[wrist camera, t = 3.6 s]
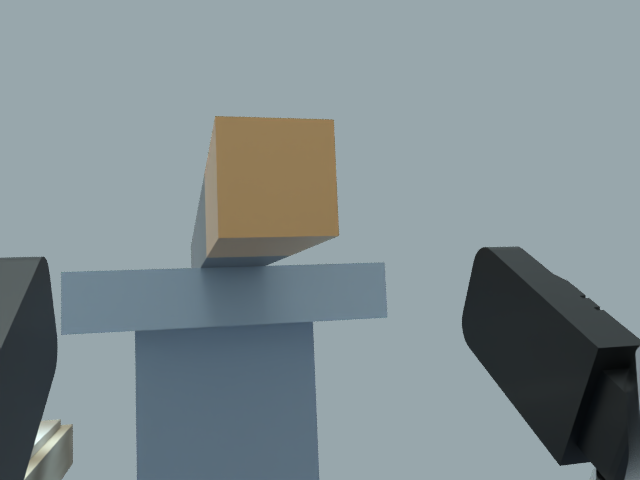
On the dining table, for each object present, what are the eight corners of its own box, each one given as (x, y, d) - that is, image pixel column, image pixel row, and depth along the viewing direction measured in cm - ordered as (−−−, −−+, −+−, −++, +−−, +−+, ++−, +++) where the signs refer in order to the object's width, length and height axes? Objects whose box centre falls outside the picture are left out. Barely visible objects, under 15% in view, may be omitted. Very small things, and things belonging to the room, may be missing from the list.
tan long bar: (338, 235, 11) (333, 119, 11) (218, 238, 10) (215, 116, 11) (228, 280, 36) (227, 245, 36) (191, 282, 36) (191, 245, 36)
